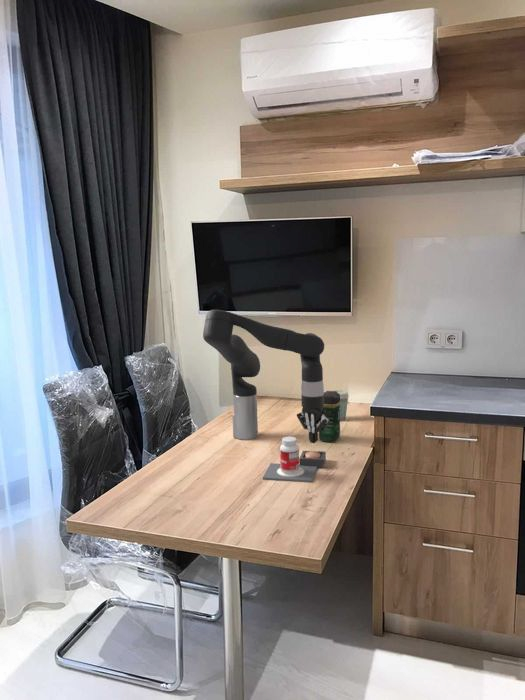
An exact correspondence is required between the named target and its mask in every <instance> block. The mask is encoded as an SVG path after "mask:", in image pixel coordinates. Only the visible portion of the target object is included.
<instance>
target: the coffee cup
mask: <svg viewBox="0 0 525 700" xmlns="http://www.w3.org/2000/svg"><path fill="white" fill-rule="evenodd" d="M334 391H336V392H337V393H339V394H340V422H343V421H346V420H345V419H347V418H346V417H347V411H348V410H347V409H348V399H349V394H348V391H347V390H339V389H338V390H334Z"/></svg>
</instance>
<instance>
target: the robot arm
mask: <svg viewBox="0 0 525 700" xmlns="http://www.w3.org/2000/svg"><path fill="white" fill-rule="evenodd" d="M204 320H205V321H204V325H203V326H204V327H203V331H202V333H203V334H202V338H203V340H204V342H205V343H207V345H209V346H211V347H212V348H213V349H215V350H216V351H217V352H219V354H220V355H221V356H222V357H223V359H225V361H227V362H228V363H230V370H231V372H230V373H231V379H232V382H231V383H232V384H231V385H232V396H233V397H232V398H233V399H232V400H233V413H232V436H233V437H234V438H233V439H238V440H252V439H256V438H258V436H259V428H258V427H259V426H258V421H259V420H258V398H257V397H258V395H257V394H258V392H257V387H256V386H255V385H254V384H251V383H249V382H247V381H246V380H245V379H244V378H255V377H257V376H258V375H259V374H260V370H261V362H260V359H259V356H258V355H257V354H256V353H255V352H254V351H252V350H251V349H250V348H249V347H248V345H247V343H246V342H245V341H244V339H243V338H242V337H241V336H239V335H238V334H233V329H234V326H236V327H239V328H241V329H244V330H245V331H246V332H248V333H249V334H250V335H251V336H253V337H254V339H256V340H257V342H259V343H261V344H262V345H264V346H266V347H268V348H270V349H276V350H281V351H288V352H293V353H296V354H298V355H300V356H299V357H300V362H301V387H300V389H301V391H300V392H301V412H299V413H297V414H296V418H297V419H298V421H299V422H300V424H301V425H302V428H303V429H304V430H306V431H307V432H308V441H309V443H311V444H315V443H317V442H318V441H319V431H322V430H323V429H324V428H325V426H326V425H327V424H328V422H329V421H330V419H329V418H326V417H325V415H324V411H323V407H324V392H325V391H324V390H325V389H324V388H325V387H324V380H323V379H324V372H323V370H324V369H323V365H322V363H321V356H320V355H322V354H323V352H324V350H325V343H324V341H323V339H322V338H321V337H319V336H318V335H317V334H315V333H310V332H308V333H302V332H301V333H300V332H296V331H294V330H291V329H289V328H282V327H278V326H275V325H274V326H273V325H269V324H266V323H263V322H260V321H257V320H254V319H251V318H248V317H246V316H243V315H240V314H237V313H233V312H231V311H227V310H223V309H210V310H209V311H207V312H206V315H205V319H204ZM320 420H321V423H320Z"/></svg>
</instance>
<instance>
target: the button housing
mask: <svg viewBox="0 0 525 700" xmlns="http://www.w3.org/2000/svg"><path fill="white" fill-rule="evenodd" d="M307 452H319V453H320V458H305V453H307ZM326 458H327V452H326V451H322V450H321V451H320V450H302V452H301V454H300V455H299V465H304V466H317V469H324V466H325V463H326V460H327V459H326Z"/></svg>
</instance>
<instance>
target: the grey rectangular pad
mask: <svg viewBox="0 0 525 700" xmlns="http://www.w3.org/2000/svg"><path fill="white" fill-rule="evenodd" d="M317 469H318V468H317V466H304V465H299V471H298V472H297V473H294V474H285V473H283V472H282V471H281V466H280V463H275V462H274V463H272V462H270V464H269V466H268V468H267V469H266V471H265V473H264V475H263V476H262V480H269V481H270V480H271V481H283V482H298V483H299V482H300V483H301V482H304V483H313V481H314V478H315V475H316V472H317Z"/></svg>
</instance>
